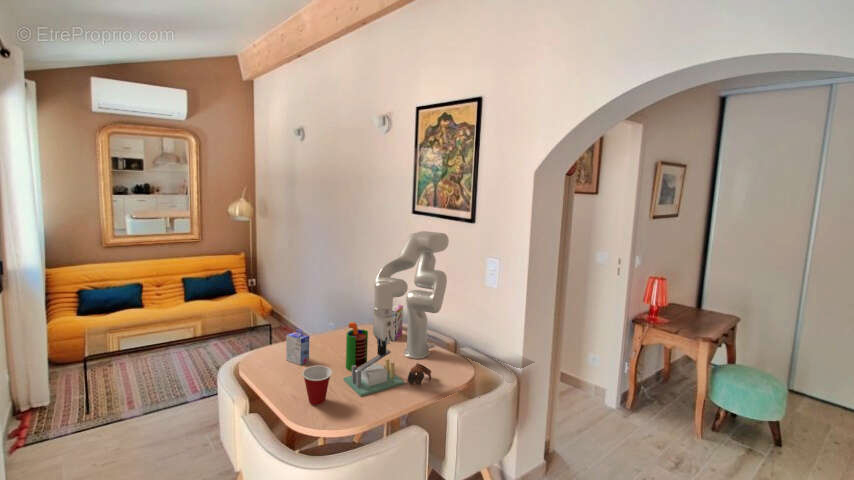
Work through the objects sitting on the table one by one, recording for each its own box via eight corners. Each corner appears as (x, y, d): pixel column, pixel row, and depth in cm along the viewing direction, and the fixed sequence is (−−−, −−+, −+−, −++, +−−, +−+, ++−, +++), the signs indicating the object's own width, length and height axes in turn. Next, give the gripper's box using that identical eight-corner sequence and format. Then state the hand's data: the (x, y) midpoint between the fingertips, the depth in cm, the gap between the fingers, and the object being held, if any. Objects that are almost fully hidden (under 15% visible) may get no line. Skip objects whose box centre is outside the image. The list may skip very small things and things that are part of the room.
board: (385, 369, 189) (385, 352, 188) (404, 383, 176) (404, 365, 175) (343, 380, 178) (343, 361, 177) (360, 396, 165) (360, 377, 164)
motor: (361, 372, 185) (362, 328, 182) (342, 370, 187) (342, 326, 184) (369, 363, 195) (369, 321, 192) (350, 360, 197) (351, 319, 194)
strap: (387, 350, 181) (387, 348, 180) (391, 352, 178) (390, 350, 178) (354, 372, 173) (353, 370, 172) (357, 374, 171) (356, 372, 170)
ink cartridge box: (310, 361, 195) (310, 331, 193) (300, 365, 190) (300, 334, 188) (295, 356, 200) (294, 326, 198) (285, 360, 195) (285, 329, 193)
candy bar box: (395, 341, 221) (396, 311, 219) (386, 340, 223) (387, 310, 220) (402, 334, 232) (403, 305, 230) (394, 333, 233) (394, 304, 231)
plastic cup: (313, 412, 153) (313, 381, 151) (296, 401, 160) (296, 371, 158) (338, 401, 161) (338, 371, 159) (320, 391, 168) (320, 362, 166)
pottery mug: (404, 377, 183) (413, 360, 184) (424, 387, 183) (432, 370, 185) (406, 384, 171) (416, 365, 172) (427, 394, 171) (436, 375, 173)
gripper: (400, 314, 171) (398, 359, 173) (382, 305, 183) (381, 347, 185) (384, 317, 167) (382, 362, 169) (366, 307, 179) (365, 350, 181)
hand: (381, 354), depth 177 cm, fingers closed
